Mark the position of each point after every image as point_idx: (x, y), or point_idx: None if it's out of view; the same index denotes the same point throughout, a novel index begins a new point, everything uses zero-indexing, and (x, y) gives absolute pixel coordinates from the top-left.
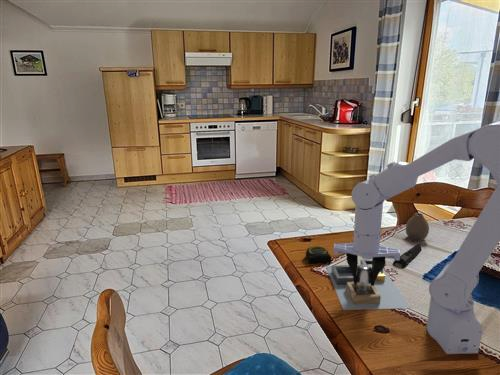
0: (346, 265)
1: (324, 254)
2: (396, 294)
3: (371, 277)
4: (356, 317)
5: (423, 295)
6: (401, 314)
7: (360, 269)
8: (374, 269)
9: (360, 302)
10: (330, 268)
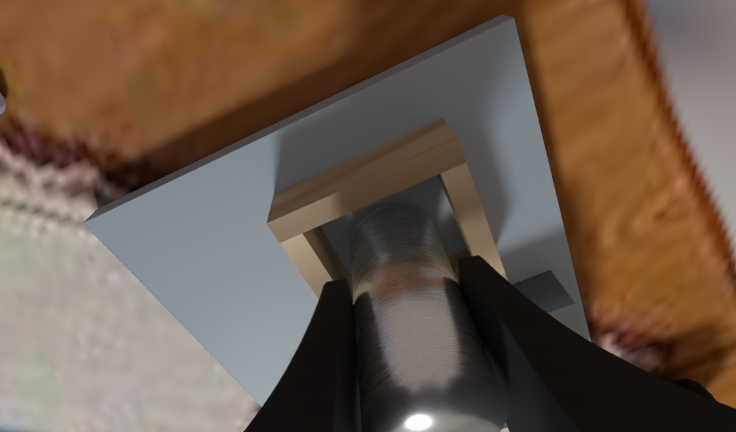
0: None
1: None
2: (203, 310)
3: (351, 344)
4: (406, 8)
5: (88, 359)
6: (138, 163)
7: (476, 387)
8: (321, 424)
9: (398, 143)
10: None
